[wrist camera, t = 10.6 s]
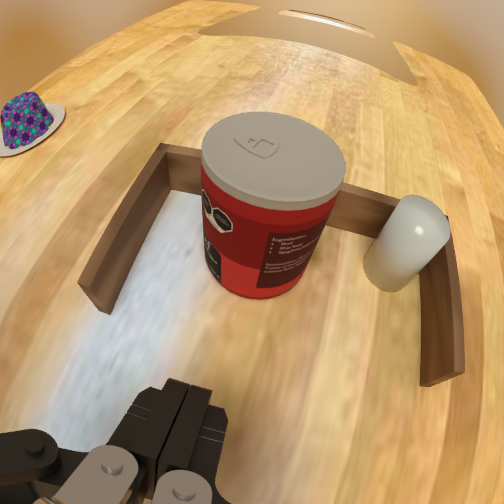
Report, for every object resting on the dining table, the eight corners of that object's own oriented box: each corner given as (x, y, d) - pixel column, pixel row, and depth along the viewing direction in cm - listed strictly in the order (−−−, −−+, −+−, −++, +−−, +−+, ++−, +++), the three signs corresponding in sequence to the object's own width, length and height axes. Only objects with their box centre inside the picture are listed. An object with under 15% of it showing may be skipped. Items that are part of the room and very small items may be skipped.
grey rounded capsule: (355, 274, 26) (391, 222, 20) (372, 238, 28) (405, 185, 22) (400, 301, 24) (445, 257, 19) (413, 263, 27) (453, 215, 21)
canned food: (220, 211, 28) (225, 101, 19) (309, 233, 27) (348, 130, 18) (190, 286, 24) (176, 178, 14) (295, 314, 23) (344, 220, 14)
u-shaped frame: (99, 310, 22) (77, 282, 18) (165, 179, 29) (160, 143, 26) (429, 386, 20) (464, 372, 17) (424, 244, 28) (447, 216, 24)
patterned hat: (-20, 160, 30) (-34, 132, 26) (24, 109, 37) (16, 83, 33) (35, 161, 30) (21, 127, 26) (81, 106, 37) (74, 75, 33)
